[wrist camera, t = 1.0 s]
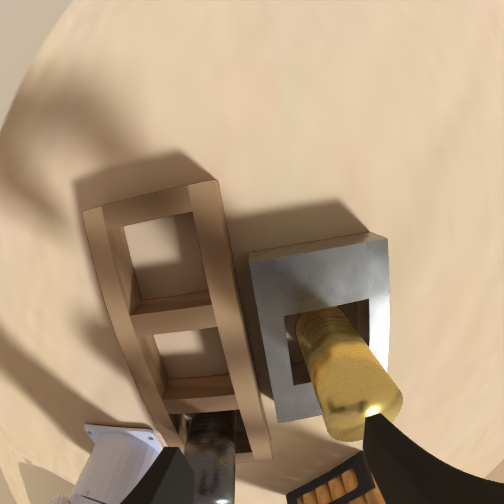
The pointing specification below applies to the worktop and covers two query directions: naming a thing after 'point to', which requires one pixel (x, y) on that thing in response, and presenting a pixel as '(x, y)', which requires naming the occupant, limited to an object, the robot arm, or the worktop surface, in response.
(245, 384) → the walnut rack
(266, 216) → the worktop surface
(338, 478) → the ammunition clip
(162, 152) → the worktop surface
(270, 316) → the steel socket
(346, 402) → the brass round bar
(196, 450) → the black round bar
